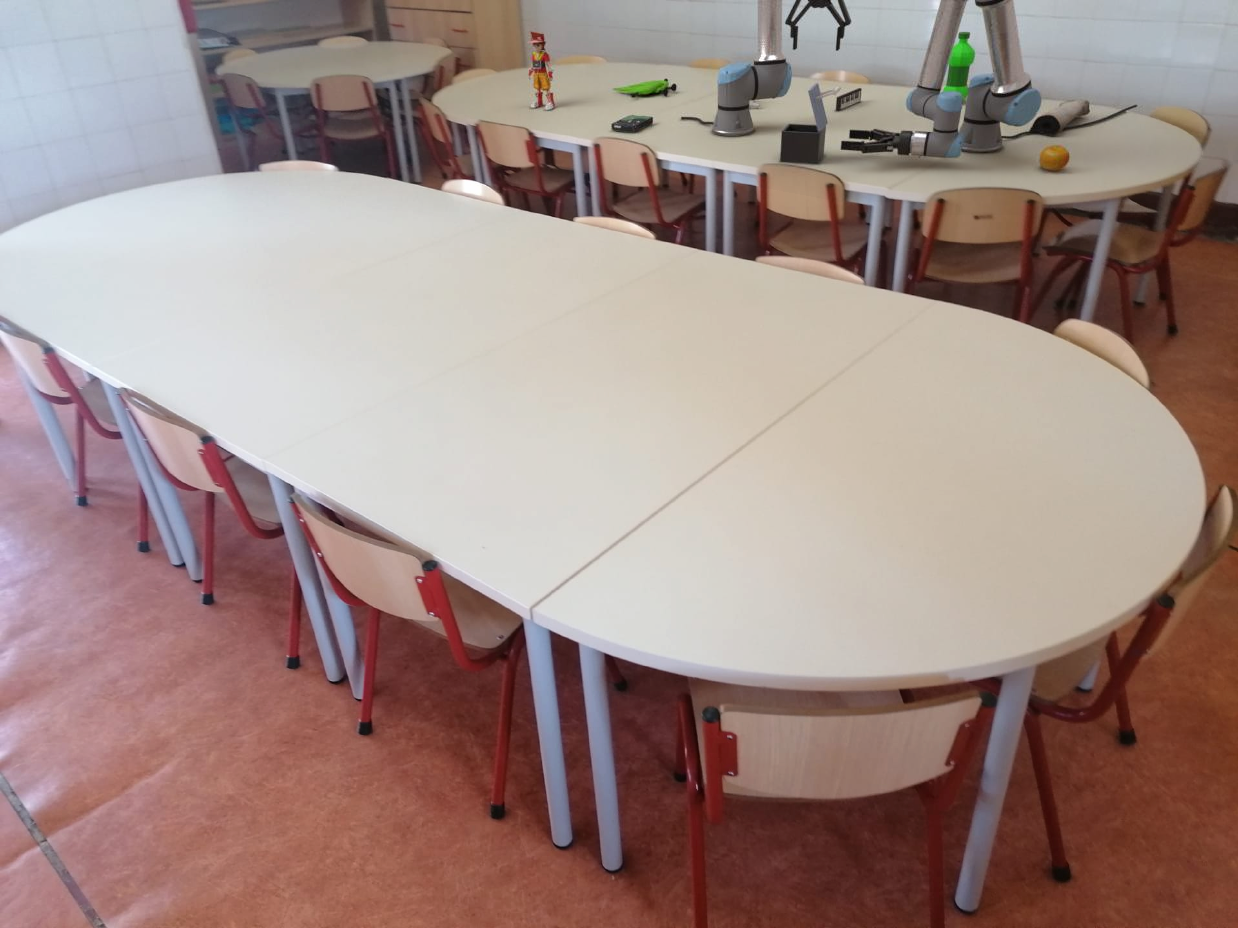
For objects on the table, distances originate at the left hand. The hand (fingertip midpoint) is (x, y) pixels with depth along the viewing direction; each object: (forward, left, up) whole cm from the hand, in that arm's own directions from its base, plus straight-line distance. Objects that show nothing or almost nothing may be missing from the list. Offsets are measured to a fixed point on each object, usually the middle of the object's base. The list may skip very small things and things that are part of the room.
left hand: (816, 49), depth 284 cm
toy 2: (-104, +69, -34) cm, 129 cm away
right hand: (+12, +2, -27) cm, 30 cm away
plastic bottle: (+26, +91, -34) cm, 101 cm away
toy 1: (-131, +31, -34) cm, 139 cm away
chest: (-2, 0, -34) cm, 34 cm away
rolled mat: (+68, +68, -34) cm, 102 cm away
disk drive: (-78, +15, -34) cm, 86 cm away
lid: (+1, 0, -18) cm, 18 cm away
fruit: (+74, +15, -34) cm, 83 cm away
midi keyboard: (-11, +72, -34) cm, 81 cm away
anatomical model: (-51, +60, -34) cm, 86 cm away
